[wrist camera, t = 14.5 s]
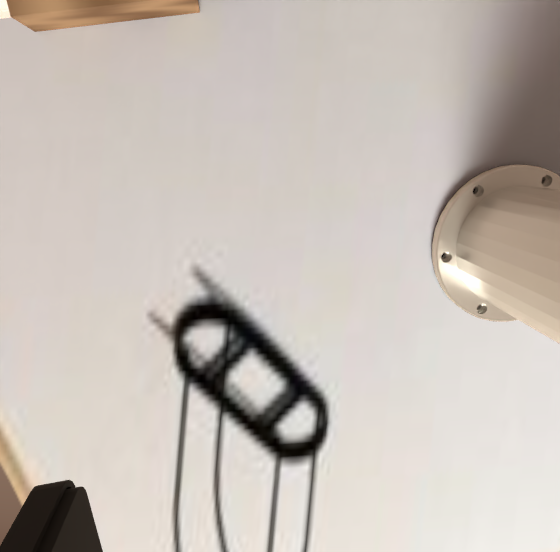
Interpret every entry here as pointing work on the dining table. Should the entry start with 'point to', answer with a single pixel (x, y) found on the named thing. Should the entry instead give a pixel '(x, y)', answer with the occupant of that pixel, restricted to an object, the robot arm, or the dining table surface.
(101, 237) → the dining table surface
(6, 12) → the soap
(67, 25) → the socket
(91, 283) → the dining table surface
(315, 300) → the dining table surface
